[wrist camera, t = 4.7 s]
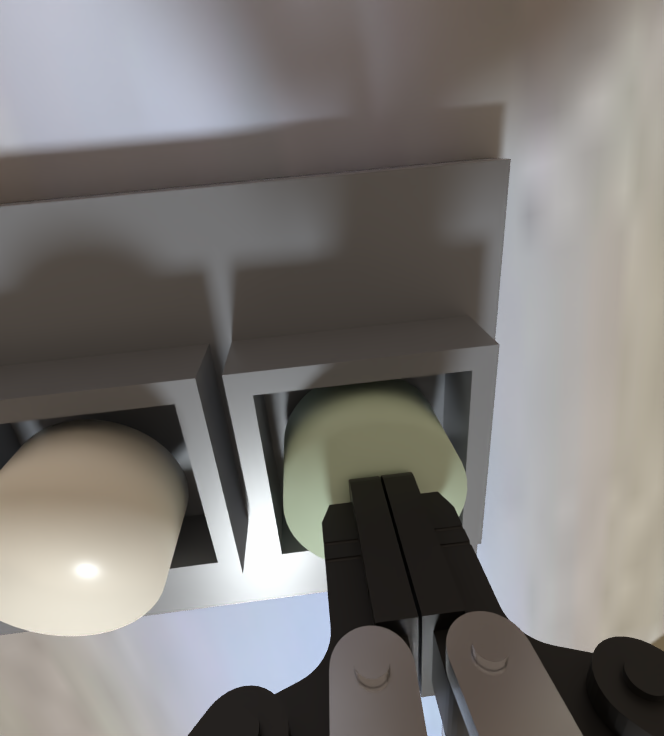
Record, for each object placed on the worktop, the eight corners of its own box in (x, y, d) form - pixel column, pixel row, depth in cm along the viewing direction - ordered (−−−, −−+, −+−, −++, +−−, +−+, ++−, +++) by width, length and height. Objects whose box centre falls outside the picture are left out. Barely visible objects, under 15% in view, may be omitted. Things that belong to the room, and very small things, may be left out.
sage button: (274, 381, 12) (270, 435, 10) (438, 362, 12) (473, 412, 10) (293, 507, 14) (295, 577, 12) (435, 490, 14) (462, 555, 12)
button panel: (-429, 243, 11) (-673, 277, 8) (493, 157, 11) (555, 161, 9) (-116, 626, 17) (-193, 718, 14) (465, 550, 18) (497, 622, 15)
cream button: (-19, 430, 11) (-99, 504, 9) (166, 409, 11) (135, 476, 9) (47, 560, 13) (-4, 647, 11) (204, 540, 13) (186, 622, 11)
